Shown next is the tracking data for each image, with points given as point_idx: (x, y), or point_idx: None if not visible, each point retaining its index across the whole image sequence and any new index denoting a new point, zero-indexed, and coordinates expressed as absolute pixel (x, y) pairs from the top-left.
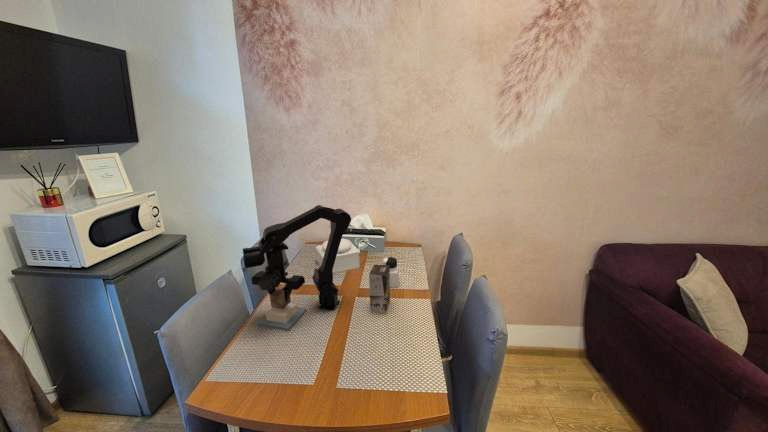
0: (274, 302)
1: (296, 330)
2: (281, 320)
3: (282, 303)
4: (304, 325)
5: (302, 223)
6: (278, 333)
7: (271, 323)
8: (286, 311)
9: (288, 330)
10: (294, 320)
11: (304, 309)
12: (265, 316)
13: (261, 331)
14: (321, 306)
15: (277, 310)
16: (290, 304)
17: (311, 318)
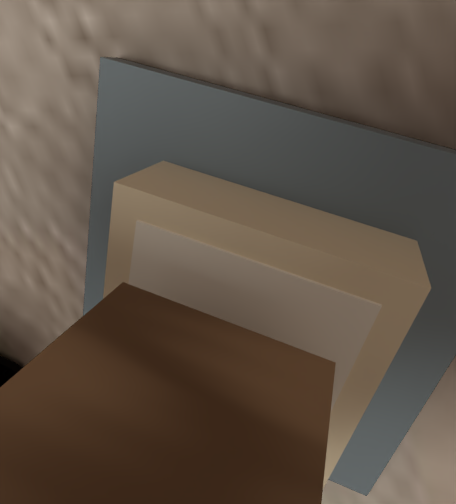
0: (232, 408)
1: (53, 71)
2: (204, 183)
3: (59, 339)
4: (22, 153)
5: None
6: (210, 4)
7: (333, 165)
8: (138, 285)
9: (117, 58)
10: (102, 207)
11: None
12: (453, 317)
13: (449, 37)
14: (1, 377)
15: (263, 325)
16: None
17: (16, 250)
